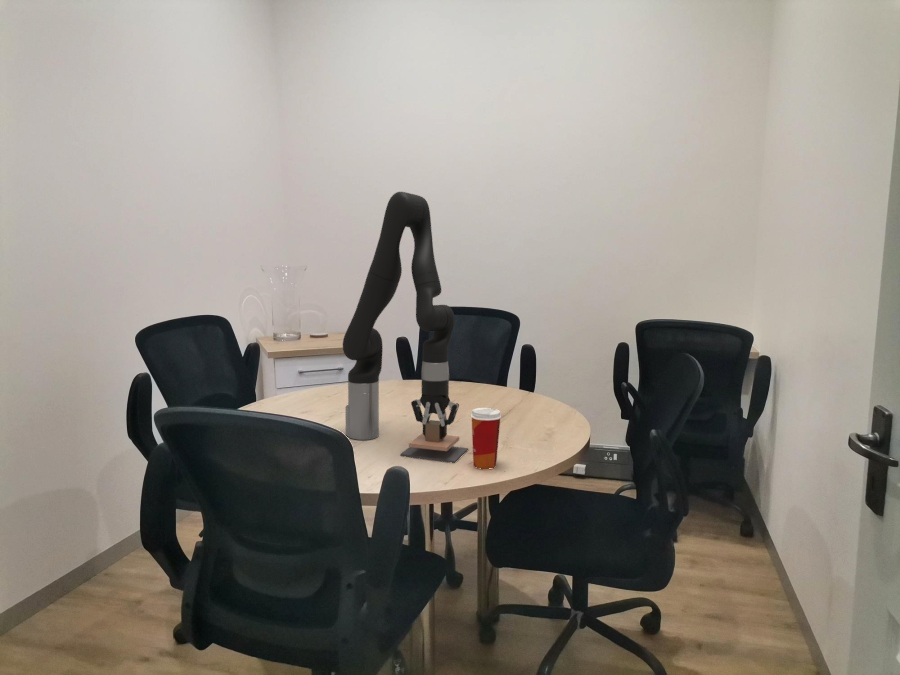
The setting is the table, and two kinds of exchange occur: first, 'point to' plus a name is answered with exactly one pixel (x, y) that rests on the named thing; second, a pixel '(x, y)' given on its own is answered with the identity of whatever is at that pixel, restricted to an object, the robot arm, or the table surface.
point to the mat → (435, 454)
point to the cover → (433, 438)
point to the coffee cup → (485, 437)
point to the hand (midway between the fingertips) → (434, 437)
